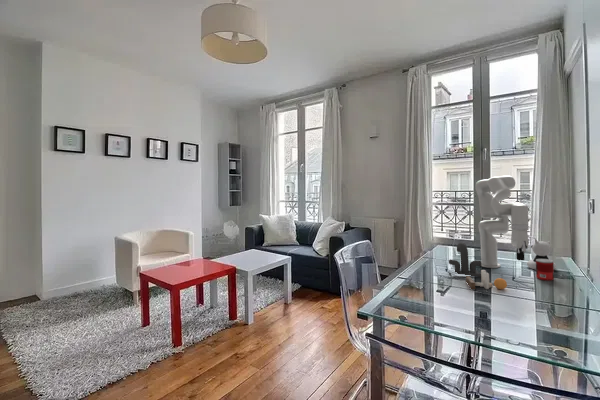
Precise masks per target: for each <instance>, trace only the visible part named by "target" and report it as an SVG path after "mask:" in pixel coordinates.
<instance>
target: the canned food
mask: <svg viewBox="0 0 600 400" xmlns="http://www.w3.org/2000/svg"><path fill="white" fill-rule="evenodd" d="M554 263H555V262H554V260H552V259H549V258H548V259H536V270H535V272H536V273H535V274H536V275H535V277H536V278H537V279H538V280H541V281H546V282H547V281H549V282H550V281H553V280H554V278H555V269H554Z"/></svg>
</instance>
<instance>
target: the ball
mask: <svg viewBox="0 0 600 400" xmlns="http://www.w3.org/2000/svg"><path fill="white" fill-rule="evenodd" d="M493 281H494V282H493V285H494V287H495V288H496V289H498V290H505V289H506V288H507V287H508V283H507V280H506V279H504V278H501V277H497V278H495V280H493Z"/></svg>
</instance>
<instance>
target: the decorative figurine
mask: <svg viewBox="0 0 600 400" xmlns="http://www.w3.org/2000/svg"><path fill="white" fill-rule="evenodd" d="M550 243H551V240H548V241H542V240H540V241H538V240H537V239H535V238H534V243H533V244H531V245H530V249H532V253H534V254H535V256H534V258H533V259H530V260H528V261H526V265H527V268H530V269H532V270H535V271H536V259H549V257H548V255H549V254H550V253H551V251H552V247H551V245H550ZM556 269H557V264H556V263H555V262H554V270H556Z"/></svg>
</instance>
